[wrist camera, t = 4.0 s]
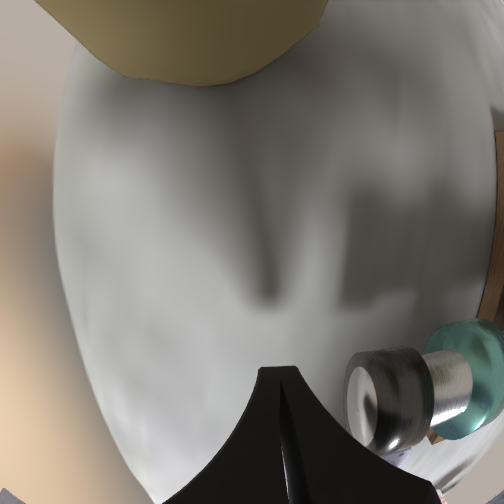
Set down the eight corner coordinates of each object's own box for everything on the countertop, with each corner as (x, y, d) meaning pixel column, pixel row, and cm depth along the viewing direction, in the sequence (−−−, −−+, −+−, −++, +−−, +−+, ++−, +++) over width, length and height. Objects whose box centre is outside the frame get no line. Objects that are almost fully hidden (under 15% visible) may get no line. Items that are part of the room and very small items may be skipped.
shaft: (333, 405, 11) (359, 493, 6) (351, 312, 9) (411, 407, 5) (520, 348, 10) (558, 383, 6) (541, 282, 9) (589, 310, 4)
